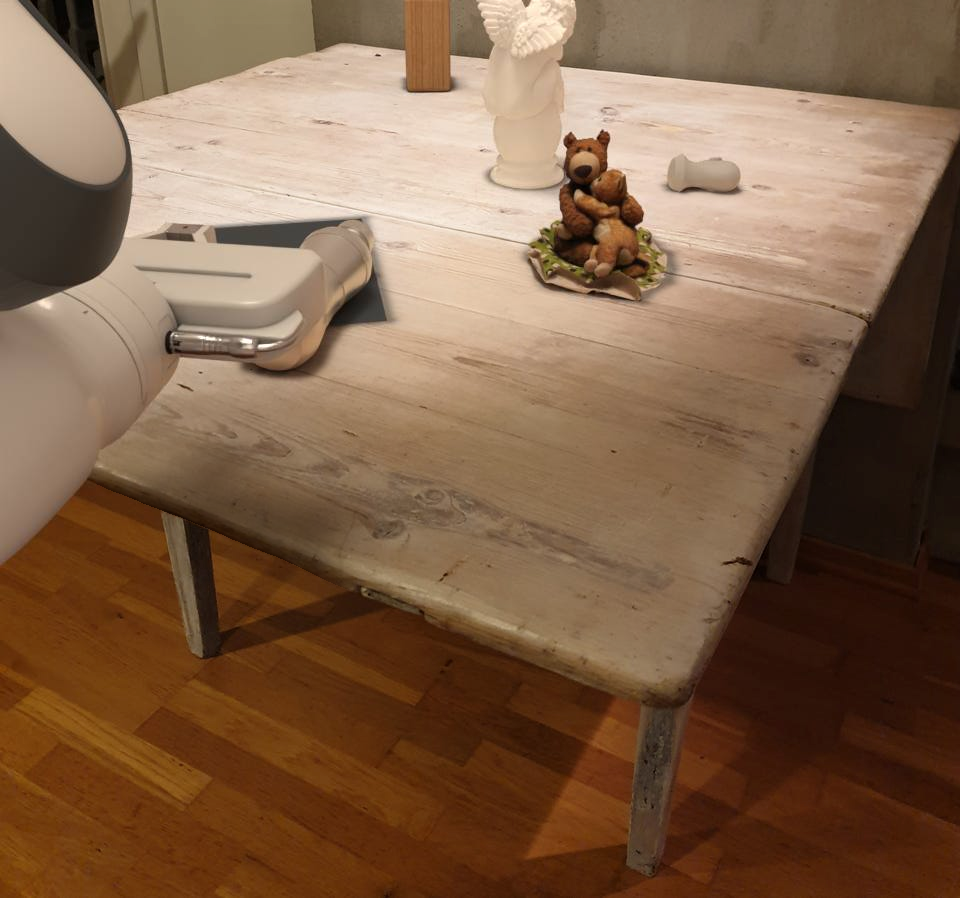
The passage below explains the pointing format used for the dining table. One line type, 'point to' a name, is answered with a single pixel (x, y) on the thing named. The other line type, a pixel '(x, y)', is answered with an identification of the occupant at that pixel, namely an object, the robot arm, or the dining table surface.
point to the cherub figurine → (526, 87)
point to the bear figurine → (597, 229)
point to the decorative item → (427, 45)
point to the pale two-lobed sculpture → (702, 174)
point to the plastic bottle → (333, 281)
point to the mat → (292, 235)
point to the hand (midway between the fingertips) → (193, 235)
